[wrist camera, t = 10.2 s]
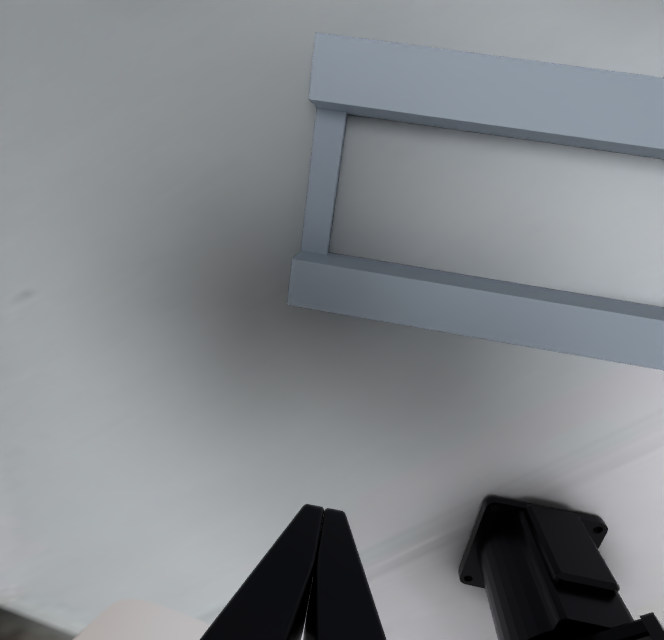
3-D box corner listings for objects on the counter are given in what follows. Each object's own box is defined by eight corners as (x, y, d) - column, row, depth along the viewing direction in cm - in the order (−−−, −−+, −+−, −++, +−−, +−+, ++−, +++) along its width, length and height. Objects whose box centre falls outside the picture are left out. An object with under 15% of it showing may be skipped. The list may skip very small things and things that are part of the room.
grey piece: (682, 354, 18) (727, 381, 16) (298, 289, 19) (286, 304, 17) (804, 117, 14) (886, 106, 12) (325, 53, 16) (315, 32, 13)
